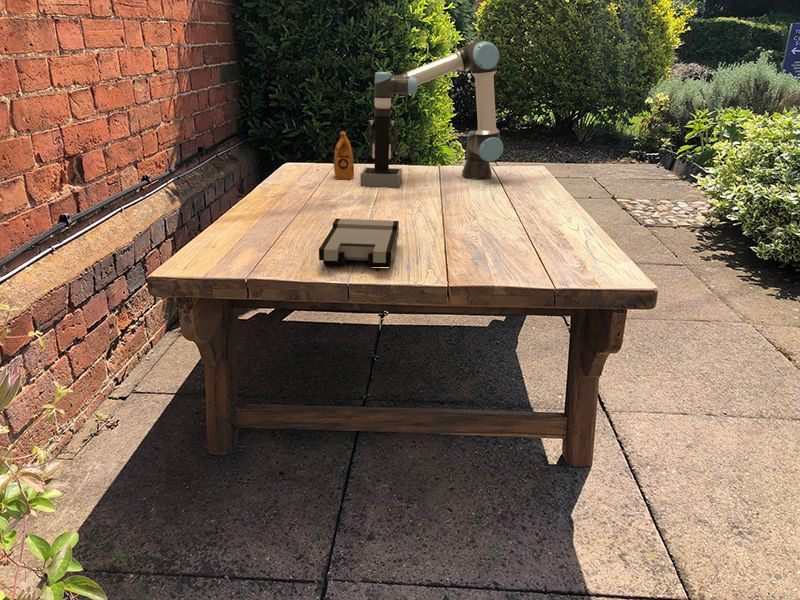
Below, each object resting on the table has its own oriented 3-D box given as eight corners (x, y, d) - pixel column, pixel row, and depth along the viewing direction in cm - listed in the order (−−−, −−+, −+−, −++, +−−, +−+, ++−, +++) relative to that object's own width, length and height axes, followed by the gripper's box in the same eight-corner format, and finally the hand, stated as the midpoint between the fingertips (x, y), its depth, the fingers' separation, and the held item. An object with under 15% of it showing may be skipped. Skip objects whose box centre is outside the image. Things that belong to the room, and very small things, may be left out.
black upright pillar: (386, 170, 326) (367, 171, 322) (387, 114, 317) (368, 114, 313) (395, 174, 318) (375, 175, 314) (396, 116, 308) (376, 116, 304)
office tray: (319, 272, 195) (318, 245, 192) (336, 242, 225) (335, 218, 222) (390, 275, 194) (391, 247, 191) (398, 245, 224) (398, 220, 221)
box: (401, 181, 329) (402, 168, 327) (399, 188, 313) (399, 175, 311) (365, 179, 331) (365, 167, 328) (360, 186, 314) (360, 173, 312)
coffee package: (332, 180, 328) (332, 133, 320) (334, 175, 340) (333, 130, 332) (353, 180, 328) (353, 134, 321) (354, 175, 340) (354, 131, 332)
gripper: (404, 107, 312) (403, 157, 320) (362, 106, 313) (361, 156, 321) (403, 108, 305) (402, 160, 313) (360, 107, 306) (359, 158, 314)
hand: (381, 158), depth 317 cm, fingers closed on black upright pillar, 7 cm apart
